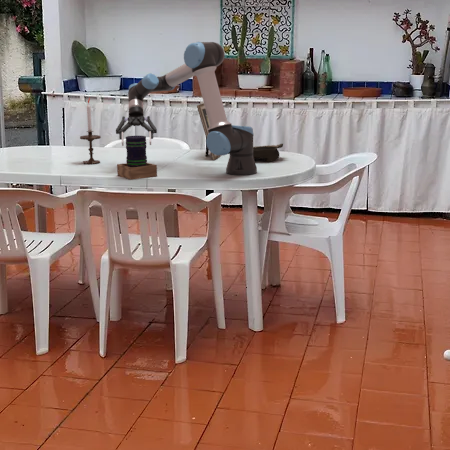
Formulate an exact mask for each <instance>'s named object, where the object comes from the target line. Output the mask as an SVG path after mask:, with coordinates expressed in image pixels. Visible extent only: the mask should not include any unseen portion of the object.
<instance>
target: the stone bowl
mask: <svg viewBox="0 0 450 450" xmlns="http://www.w3.org/2000/svg"><path fill="white" fill-rule="evenodd" d="M283 146H284V143H280V144H276V145H274V144H273V145H272V144H271V145H259V146H253V158H254V160H256V159H257V160H258V159H263V160H264V162H266V163H272V162H274V161H277V160H278V159H280V151H279V150H278V149H281V148H283Z"/></svg>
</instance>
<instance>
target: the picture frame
mask: <svg viewBox="0 0 450 450" xmlns="http://www.w3.org/2000/svg"><path fill="white" fill-rule="evenodd" d="M196 107H197V111H198V115H199V117H200V122H201V125H202V128H203V131H204V136H205V138H206V139H207V135H208V134H209V133H208V128H209V127H210V124H209V120H208V117H207V113H206V109H205V105H204V102H202V103H200V104H197V105H196ZM206 139H205V140H206ZM205 145H206V144H205ZM209 153H210V155H211V160H212V161H215V160H216V159H218V158H219V157H221V156H222V155H214V154H213V153H211V152H210V151H209V149H208V147H207V145H206V146H205V155H204V157H205V158H207V157H208V156H209Z"/></svg>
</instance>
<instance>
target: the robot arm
mask: <svg viewBox="0 0 450 450" xmlns="http://www.w3.org/2000/svg"><path fill="white" fill-rule="evenodd" d="M224 60H225V50H224V47H222V45H221V44H219V43H218V42H214V41H196V42H191V43H190V44H188V45H187V46H186V47H185V50H184V53H183V61H184V64H182V65H180V66H178V67H176V68H174V69H173V70H171V71H169V72H167V73H165V74H164V75H161V76H157V75H155V74H153V73H151V72H150V73H148V74H146V75H144V76H143V77H142V79H141V80H139V81H138V83H136V82H135V83H132V84H130V85H129V86H128V92H127V95H128V96H127V97H128V99H127V100H128V117H125V116H122V118H121V120H120V122H119V124H118V126H117V127H116V128H115V134H116V135H119V136H118V137H119V138H118V139H119V140H121V147H123V146H124V144H125V143H124V142H125V141H124V133H125V132H126V131H127V130H129V129H130V128H131V127H132V126H133V127H142V128H143V129H145V130H146V131H147V132H148V133H149V135H148V136H149V137H148V139H149V146H152V140H153V139H154V134H157V133H158V132H157V131H158V130H157V127H156V126H155V125H154V123H153V121H152V120H151V117H150V115H147V116H146V117H144V99H145V98H147V96H148V95H150V93H155V92H169V91H173V90H175V88H176V86H178V85H180V84H182V83H184V82H186V81H188V80H189V79H191V78H193V77H196V78H197V81H198V86H199V89H200V93H201V98H202V101H203V103H204V105H205V109H206V113H207V117H208V120H209V124H210V127H209V128H208V133H209V134H208V135H207V139H205V142H206V143H205V145H207V147H208V149H209V153H210V152H211V153H213V154H214V155H221V156H226V155H229V158H228V161H227V164H226V167H225V173H226V174H228V175H235V176H237V175H238V176H245V175H246V176H250V175H253V174H256V173H257V172H258V167H257V164H256V161H255V159H254V158H253V147H254V128H253V127H252V126H250V125H249V126H246V125H232V123H231V122H229V120H228V117H227V114H226V110H225V106H224V104H223V103H224V102H223V100H222V96H221V91H220V88H219V84H218V80H217V76H216V73H215V71H216V70H217V67H219V66H220V65H221V64H223V61H224ZM145 121H146V122H147V123H148V124H147V123H146V122H145ZM126 122H127V123H126ZM211 153H210V154H211Z"/></svg>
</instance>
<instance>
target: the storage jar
mask: <svg viewBox="0 0 450 450" xmlns="http://www.w3.org/2000/svg"><path fill="white" fill-rule="evenodd" d="M125 150H126V163H127V166H128V167H141V166H147V163H148V157H147V156H148V155H147V138H146V136H145V135H128V136H125Z"/></svg>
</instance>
